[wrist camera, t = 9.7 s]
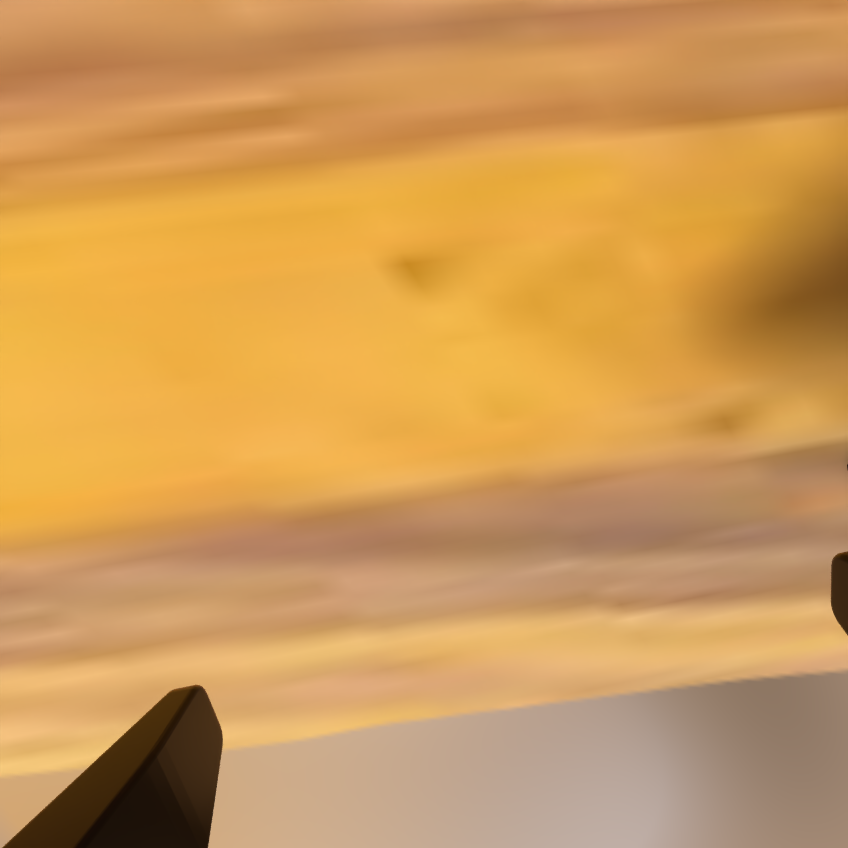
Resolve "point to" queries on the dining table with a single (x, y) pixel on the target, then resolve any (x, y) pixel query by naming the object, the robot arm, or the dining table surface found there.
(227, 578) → the dining table surface
